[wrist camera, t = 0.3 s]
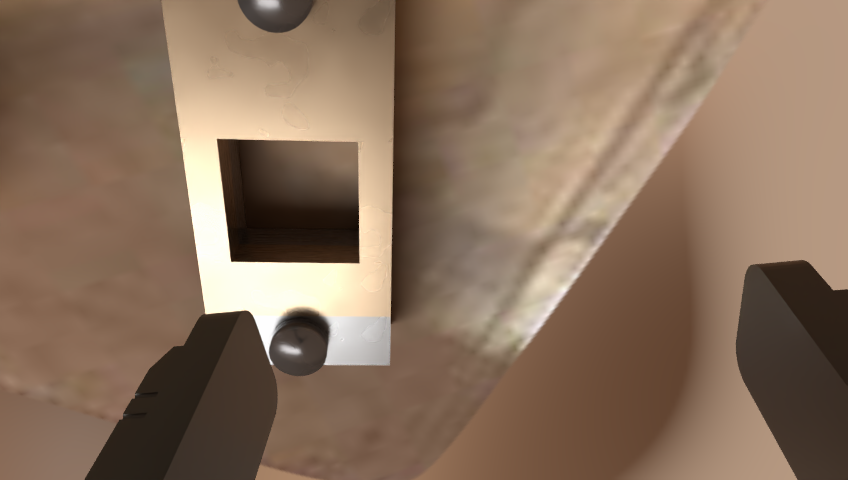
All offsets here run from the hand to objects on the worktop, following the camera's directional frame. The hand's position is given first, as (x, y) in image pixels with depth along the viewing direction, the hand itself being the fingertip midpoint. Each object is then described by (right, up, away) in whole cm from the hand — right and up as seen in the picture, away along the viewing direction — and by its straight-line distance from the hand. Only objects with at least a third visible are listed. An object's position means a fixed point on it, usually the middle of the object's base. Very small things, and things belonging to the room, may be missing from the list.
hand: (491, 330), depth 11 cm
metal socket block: (-7, +6, +21) cm, 23 cm away
